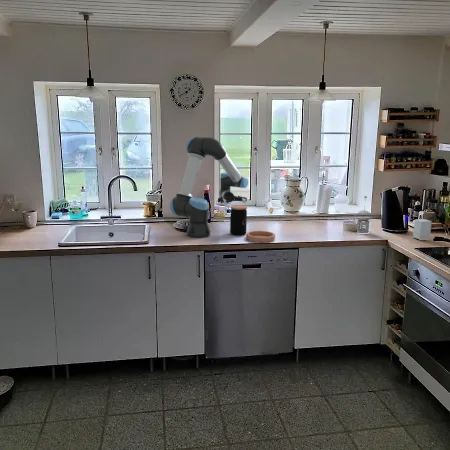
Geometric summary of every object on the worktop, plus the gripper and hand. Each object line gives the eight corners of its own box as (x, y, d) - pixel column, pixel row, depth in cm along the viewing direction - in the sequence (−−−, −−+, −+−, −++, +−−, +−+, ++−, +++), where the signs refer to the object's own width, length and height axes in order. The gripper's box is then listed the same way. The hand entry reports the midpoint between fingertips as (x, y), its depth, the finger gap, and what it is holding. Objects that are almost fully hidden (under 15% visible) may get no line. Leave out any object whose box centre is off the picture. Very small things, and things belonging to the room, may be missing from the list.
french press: (366, 235, 285) (370, 197, 279) (349, 232, 292) (352, 195, 286) (372, 232, 293) (375, 195, 287) (355, 229, 300) (358, 194, 294)
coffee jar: (244, 236, 277) (245, 208, 273) (228, 235, 279) (229, 207, 275) (247, 232, 287) (248, 205, 283) (231, 231, 289) (232, 204, 285)
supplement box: (429, 240, 274) (432, 221, 271) (419, 241, 273) (421, 221, 270) (422, 238, 281) (425, 218, 278) (412, 238, 280) (414, 219, 277)
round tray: (251, 242, 262) (251, 238, 261) (243, 235, 279) (243, 231, 278) (278, 241, 266) (278, 237, 265) (269, 234, 282) (269, 230, 282)
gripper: (244, 201, 313) (253, 206, 293) (210, 202, 308) (216, 208, 288) (245, 190, 311) (253, 195, 291) (210, 191, 306) (216, 197, 286)
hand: (235, 202), depth 289 cm, fingers open, 13 cm apart
